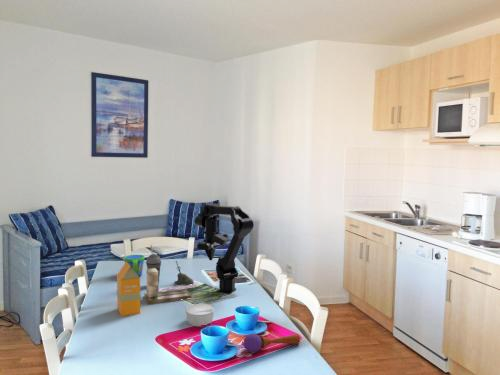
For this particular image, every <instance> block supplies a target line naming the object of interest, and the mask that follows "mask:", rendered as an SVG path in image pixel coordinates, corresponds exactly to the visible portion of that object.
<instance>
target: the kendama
mask: <svg viewBox="0 0 500 375" xmlns="http://www.w3.org/2000/svg"><path fill="white" fill-rule="evenodd" d="M300 338H301V337H300V334H299V333H295V334H294V333H293V334H291V335H285V336H281V337H277V338H276V337H275V338H272V339H270V338H268V337H266V336H263V335H260V336H259V335H258V334H257V333H249V334H247V335H246V336H245V337H244V339H243V347H244V349H245V350H246V351H247V352H249V353H251V352H254V353H257V352H258V351H260V350H263V349H265V348H266V347H268V346H269V345H271V344H289V345H290V344H291V345H293V344H295V345H299V344H300V342H301V339H300ZM261 348H262V349H261Z"/></svg>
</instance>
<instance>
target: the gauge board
mask: <svg viewBox="0 0 500 375" xmlns="http://www.w3.org/2000/svg"><path fill="white" fill-rule="evenodd" d="M143 298H144V299H145V301H146V303H147V305H153V304H154V305H155V304H162V303H163V304H164V303H170V302H176V301H182V300H181V299H187V298H191V299H192V295H191V293H190V292H189V291H188V290H187V289H186V288H183V289H172V290H164V291H158V296H157V297H156V299H154V298H153V297H149V296H148V294H147V292H146V293H144V296H143ZM187 300H188V299H187Z"/></svg>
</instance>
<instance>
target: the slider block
mask: <svg viewBox="0 0 500 375" xmlns="http://www.w3.org/2000/svg"><path fill="white" fill-rule="evenodd" d="M158 292H159V286H158V271H157V269H156V268H152V269H147V268H146V293H147V294H148V296H149V297H153V298H154V299H156V297H157V296H158Z"/></svg>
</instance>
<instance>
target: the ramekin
mask: <svg viewBox="0 0 500 375" xmlns="http://www.w3.org/2000/svg"><path fill="white" fill-rule="evenodd" d="M214 312H215V308H214V306H213V305H210V304H206V303H196V304H195V303H194V304H191V305H187V307H186V308H185V315H186V319H187V323H188V324H189V325H190V326H193V327H202V326H201V325H206V326H208V325H207V324H209V323H210V324H212V322H213V318H214ZM210 324H209V325H210Z"/></svg>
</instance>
